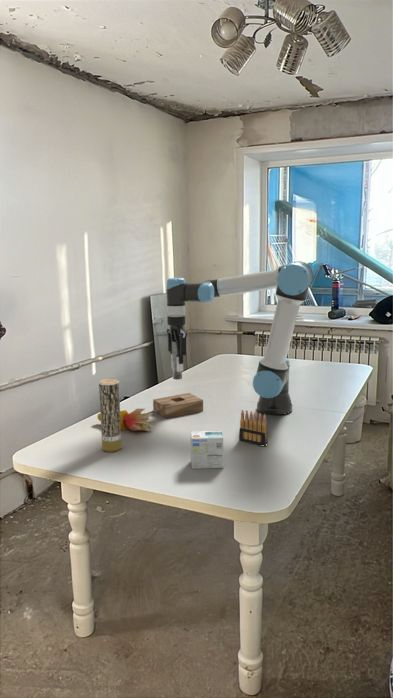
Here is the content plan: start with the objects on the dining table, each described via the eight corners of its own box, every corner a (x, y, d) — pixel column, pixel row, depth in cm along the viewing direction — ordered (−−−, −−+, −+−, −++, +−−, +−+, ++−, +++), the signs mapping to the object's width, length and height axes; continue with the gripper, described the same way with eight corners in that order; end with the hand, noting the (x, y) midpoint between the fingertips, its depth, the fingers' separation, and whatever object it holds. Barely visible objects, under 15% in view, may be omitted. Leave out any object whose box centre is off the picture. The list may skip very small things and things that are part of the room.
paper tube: (112, 443, 192) (109, 377, 187) (125, 448, 188) (122, 380, 183) (98, 449, 187) (94, 381, 182) (111, 454, 183) (107, 385, 178)
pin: (183, 378, 224) (183, 341, 220) (175, 380, 222) (174, 342, 218) (179, 376, 227) (178, 340, 224) (171, 377, 225) (170, 341, 222)
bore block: (203, 410, 227) (203, 399, 226) (166, 418, 218) (165, 406, 217) (189, 403, 237) (189, 392, 236) (153, 410, 228) (153, 399, 227)
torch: (102, 431, 214) (155, 433, 204) (90, 428, 208) (145, 429, 197) (104, 411, 217) (157, 411, 206) (93, 408, 210) (147, 408, 199)
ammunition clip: (238, 440, 194) (239, 409, 191) (241, 439, 195) (241, 408, 193) (265, 446, 188) (266, 414, 186) (267, 445, 190) (268, 413, 187)
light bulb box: (222, 460, 177) (222, 429, 175) (224, 468, 171) (224, 437, 169) (190, 460, 177) (190, 430, 175) (191, 469, 171) (190, 438, 168)
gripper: (194, 317, 213) (195, 373, 218) (174, 312, 228) (175, 364, 233) (178, 318, 210) (179, 375, 215) (159, 313, 224) (160, 367, 229)
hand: (177, 369), depth 224 cm, fingers closed on pin, 4 cm apart
